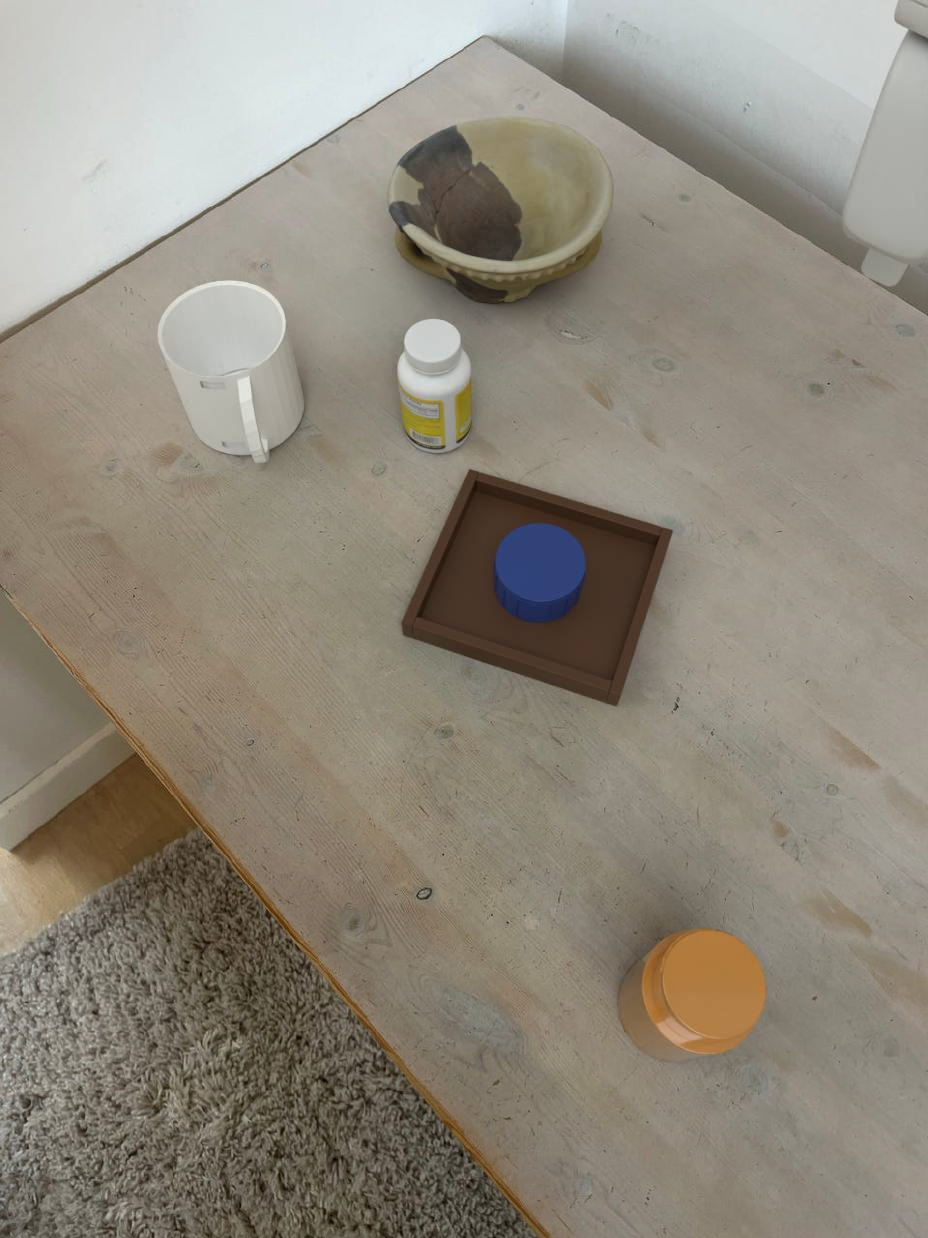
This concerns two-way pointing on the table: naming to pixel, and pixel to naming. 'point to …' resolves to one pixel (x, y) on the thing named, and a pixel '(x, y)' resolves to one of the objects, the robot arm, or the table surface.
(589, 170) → the bowl
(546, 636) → the walnut tray
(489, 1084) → the table surface
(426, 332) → the supplement bottle
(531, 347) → the table surface
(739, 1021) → the jam jar
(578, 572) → the jam lid
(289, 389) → the mug
